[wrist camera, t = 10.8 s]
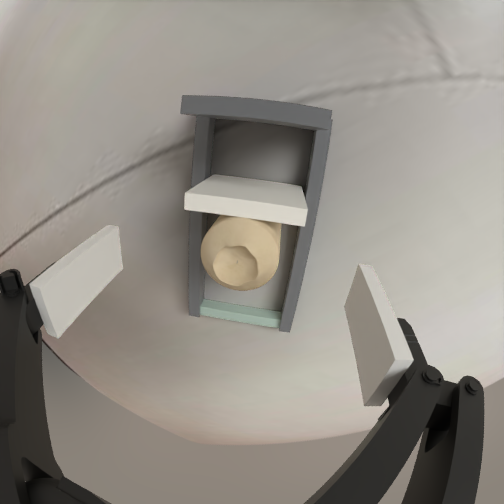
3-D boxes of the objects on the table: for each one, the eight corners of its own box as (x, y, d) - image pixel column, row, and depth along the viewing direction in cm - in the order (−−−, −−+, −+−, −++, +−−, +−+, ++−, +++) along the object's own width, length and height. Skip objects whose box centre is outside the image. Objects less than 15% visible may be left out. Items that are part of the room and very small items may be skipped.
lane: (204, 105, 23) (164, 95, 15) (329, 120, 22) (351, 114, 14) (194, 305, 32) (167, 358, 24) (289, 321, 31) (288, 380, 23)
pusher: (213, 174, 25) (185, 192, 18) (301, 186, 25) (308, 209, 18) (212, 186, 26) (184, 209, 19) (299, 198, 25) (304, 226, 18)
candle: (242, 180, 25) (217, 209, 16) (292, 210, 26) (295, 255, 17) (215, 227, 28) (181, 276, 19) (262, 254, 28) (250, 314, 19)
